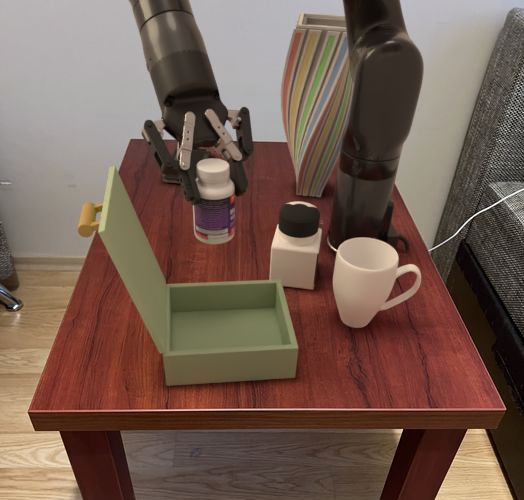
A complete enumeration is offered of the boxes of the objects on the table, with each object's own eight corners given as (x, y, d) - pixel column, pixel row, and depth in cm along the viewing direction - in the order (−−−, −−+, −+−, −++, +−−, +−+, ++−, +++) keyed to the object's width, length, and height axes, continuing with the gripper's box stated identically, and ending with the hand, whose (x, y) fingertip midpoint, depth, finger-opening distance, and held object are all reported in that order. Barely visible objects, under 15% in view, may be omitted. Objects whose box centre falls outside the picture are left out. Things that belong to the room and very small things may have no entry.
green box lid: (115, 165, 63) (80, 175, 64) (104, 230, 53) (63, 241, 53) (165, 281, 75) (136, 288, 76) (165, 352, 65) (131, 361, 65)
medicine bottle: (313, 291, 85) (322, 222, 76) (268, 285, 85) (272, 217, 77) (317, 265, 90) (326, 199, 82) (275, 260, 90) (279, 193, 82)
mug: (326, 334, 77) (337, 267, 69) (327, 299, 83) (337, 234, 76) (410, 342, 77) (431, 276, 69) (405, 306, 83) (423, 241, 75)
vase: (342, 178, 114) (366, 14, 94) (342, 209, 104) (369, 33, 84) (278, 172, 115) (288, 8, 94) (272, 203, 105) (282, 27, 84)
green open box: (278, 308, 81) (280, 279, 78) (295, 377, 71) (298, 348, 67) (166, 313, 79) (163, 284, 76) (166, 386, 69) (162, 355, 65)
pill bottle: (239, 242, 71) (240, 172, 64) (199, 248, 70) (196, 177, 63) (228, 221, 75) (228, 153, 68) (190, 227, 74) (186, 157, 67)
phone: (211, 149, 119) (200, 180, 108) (211, 154, 120) (200, 185, 109) (176, 147, 119) (161, 177, 108) (176, 152, 120) (161, 182, 109)
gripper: (125, 52, 60) (170, 199, 61) (241, 42, 65) (282, 177, 66) (118, 88, 67) (158, 219, 68) (224, 75, 72) (260, 198, 73)
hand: (219, 198), depth 67 cm, fingers closed on pill bottle, 5 cm apart
